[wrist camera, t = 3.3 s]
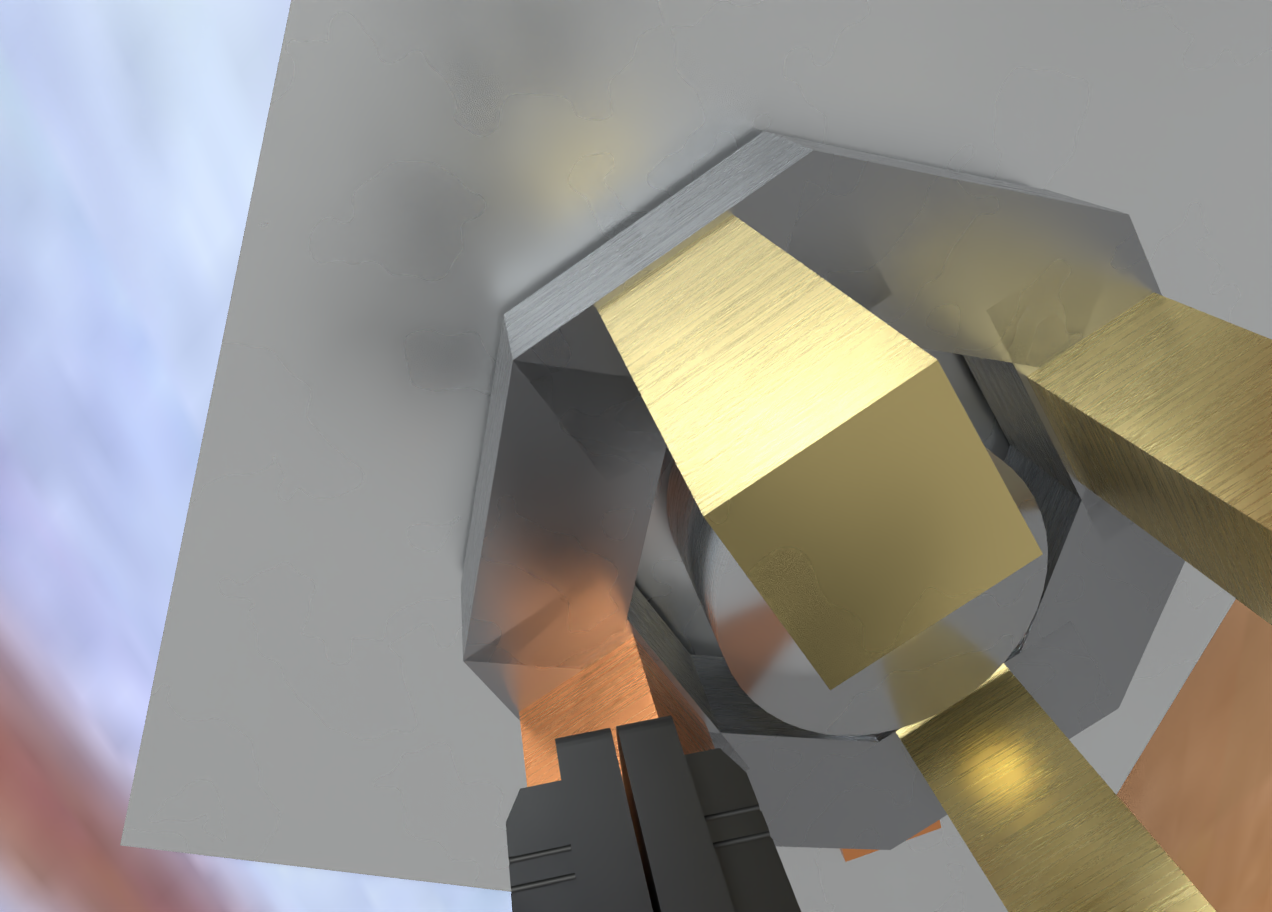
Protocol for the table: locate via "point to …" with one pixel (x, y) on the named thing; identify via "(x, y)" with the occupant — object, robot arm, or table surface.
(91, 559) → the table surface
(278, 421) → the base plate
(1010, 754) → the octagonal frame
